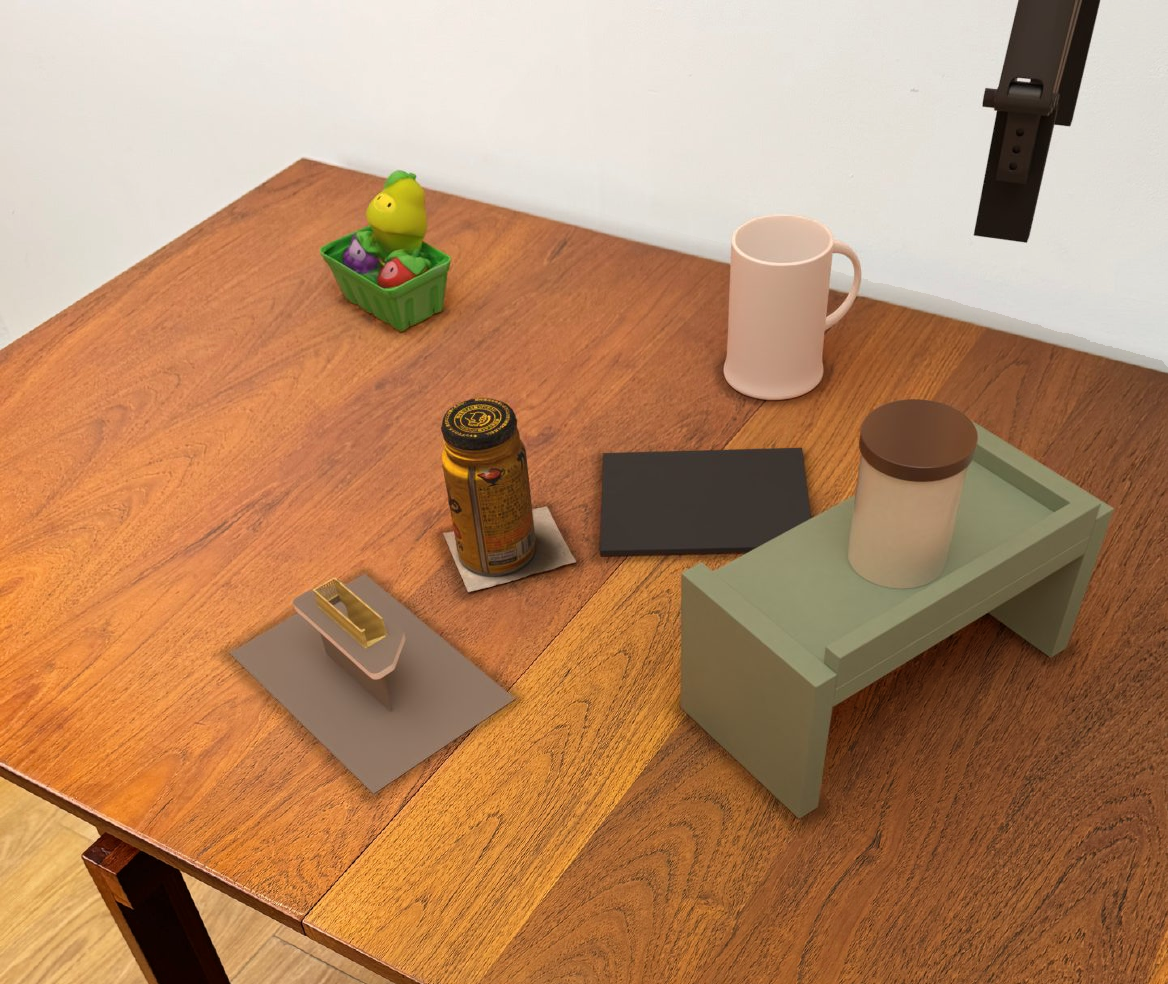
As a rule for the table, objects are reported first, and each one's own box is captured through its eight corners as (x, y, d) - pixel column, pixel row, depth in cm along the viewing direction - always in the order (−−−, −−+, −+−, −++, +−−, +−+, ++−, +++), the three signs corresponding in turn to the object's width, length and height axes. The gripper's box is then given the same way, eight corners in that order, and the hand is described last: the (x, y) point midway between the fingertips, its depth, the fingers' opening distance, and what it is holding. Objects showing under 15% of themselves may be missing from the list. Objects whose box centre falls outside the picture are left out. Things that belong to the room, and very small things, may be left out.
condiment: (443, 535, 97) (419, 401, 88) (547, 508, 99) (533, 373, 89) (468, 594, 93) (445, 460, 83) (576, 565, 94) (566, 430, 85)
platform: (364, 573, 95) (347, 504, 90) (515, 698, 86) (505, 629, 81) (229, 652, 90) (202, 584, 85) (373, 793, 81) (353, 726, 76)
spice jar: (942, 520, 79) (968, 396, 72) (958, 590, 75) (987, 466, 68) (839, 523, 79) (855, 400, 72) (849, 592, 75) (867, 469, 68)
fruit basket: (326, 299, 120) (298, 181, 111) (399, 263, 124) (378, 146, 115) (398, 344, 115) (375, 223, 106) (472, 305, 118) (456, 185, 109)
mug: (835, 329, 112) (850, 196, 103) (874, 381, 107) (893, 246, 98) (710, 355, 111) (713, 223, 101) (743, 409, 105) (750, 274, 96)
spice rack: (939, 557, 92) (972, 402, 82) (1066, 648, 86) (1120, 491, 76) (679, 707, 85) (680, 556, 74) (799, 819, 78) (817, 671, 68)
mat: (801, 453, 101) (802, 447, 101) (814, 551, 94) (814, 545, 93) (603, 458, 102) (603, 452, 102) (600, 556, 95) (599, 550, 94)
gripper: (1087, -398, 60) (999, 73, 77) (982, -262, 46) (902, 280, 63) (1255, -399, 58) (1128, 86, 75) (1199, -256, 44) (1057, 303, 60)
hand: (1025, 176), depth 69 cm, fingers open, 13 cm apart
